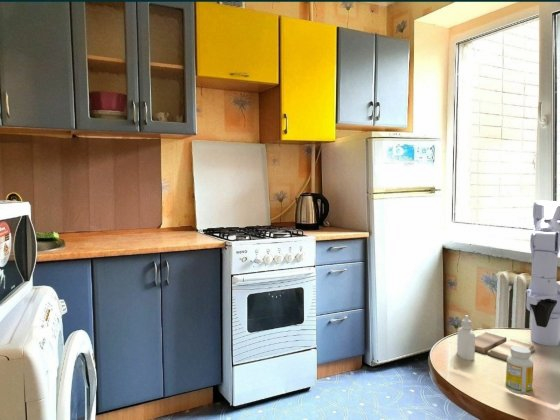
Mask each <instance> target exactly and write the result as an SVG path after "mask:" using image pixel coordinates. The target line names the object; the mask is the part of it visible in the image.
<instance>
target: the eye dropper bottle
mask: <svg viewBox="0 0 560 420" xmlns="http://www.w3.org/2000/svg"><path fill="white" fill-rule="evenodd" d="M469 318H470V317H469V315H466V314H465V316H464V318H463V319H461V327H459V328H458V329H457V339H456V340H457V341H456V342H457V343H456V345H457V346H456V347H457V348H456V354H457V355H458V357H459V358H461V359H464V360H466V361H475V356H476V355H475V353H476V351H475V337H476V335H475V333H474V330H472V320H471V319H469Z"/></svg>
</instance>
